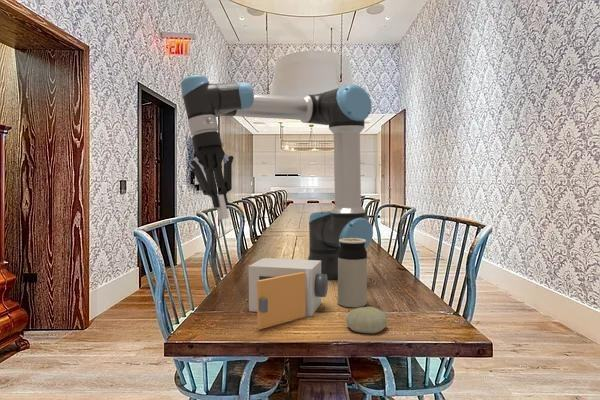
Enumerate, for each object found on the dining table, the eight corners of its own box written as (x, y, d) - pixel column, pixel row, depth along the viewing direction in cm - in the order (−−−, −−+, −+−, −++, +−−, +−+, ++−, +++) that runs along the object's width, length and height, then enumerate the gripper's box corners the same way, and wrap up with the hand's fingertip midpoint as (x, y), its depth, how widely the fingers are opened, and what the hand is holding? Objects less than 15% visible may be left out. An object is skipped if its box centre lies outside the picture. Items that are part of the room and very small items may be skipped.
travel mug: (359, 310, 116) (359, 242, 115) (332, 305, 120) (332, 240, 119) (371, 302, 123) (371, 239, 122) (345, 298, 127) (345, 237, 126)
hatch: (302, 315, 110) (302, 271, 110) (309, 317, 108) (309, 273, 108) (257, 327, 101) (257, 280, 100) (263, 330, 99) (263, 282, 99)
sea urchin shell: (339, 315, 106) (362, 291, 106) (362, 337, 107) (385, 313, 107) (346, 327, 97) (372, 302, 97) (371, 351, 98) (396, 326, 98)
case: (329, 303, 122) (329, 260, 121) (320, 318, 109) (320, 270, 109) (263, 298, 127) (263, 257, 126) (247, 312, 114) (246, 267, 113)
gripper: (188, 132, 111) (208, 222, 111) (232, 128, 119) (251, 213, 119) (177, 139, 117) (196, 225, 117) (220, 135, 125) (237, 215, 125)
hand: (223, 218), depth 118 cm, fingers closed
